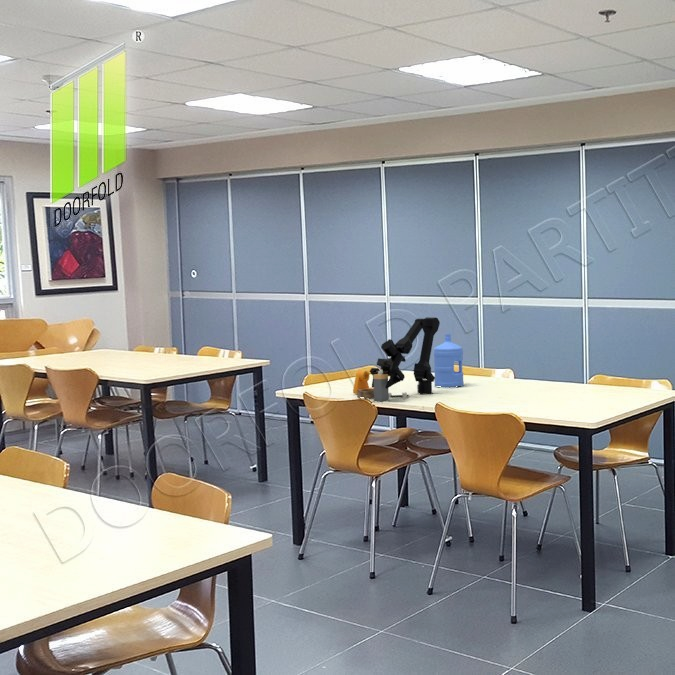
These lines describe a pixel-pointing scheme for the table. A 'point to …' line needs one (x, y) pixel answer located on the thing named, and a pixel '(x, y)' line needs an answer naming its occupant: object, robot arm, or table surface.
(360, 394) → the end cradle
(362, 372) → the orange rounded lump
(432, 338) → the robot arm
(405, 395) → the cable clips
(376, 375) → the grey tall block
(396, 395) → the cable run
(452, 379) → the water jug
